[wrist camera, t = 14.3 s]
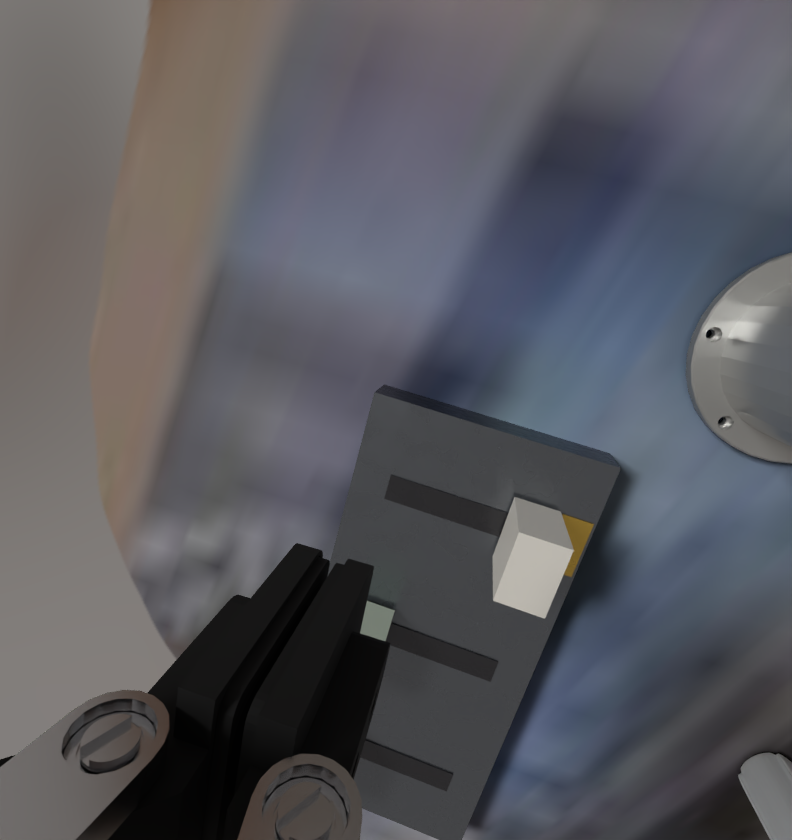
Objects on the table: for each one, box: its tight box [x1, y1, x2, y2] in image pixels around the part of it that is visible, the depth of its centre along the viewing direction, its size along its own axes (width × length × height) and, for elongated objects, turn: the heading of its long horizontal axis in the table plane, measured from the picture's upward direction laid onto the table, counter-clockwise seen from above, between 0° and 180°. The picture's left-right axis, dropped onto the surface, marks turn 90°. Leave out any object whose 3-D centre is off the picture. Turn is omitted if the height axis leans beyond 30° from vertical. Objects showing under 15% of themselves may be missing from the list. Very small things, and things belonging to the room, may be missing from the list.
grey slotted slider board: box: [327, 385, 621, 840], centre depth 37 cm, size 16×34×3 cm, turn 165°
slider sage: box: [360, 601, 395, 641], centre depth 33 cm, size 3×4×5 cm, turn 165°
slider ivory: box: [493, 497, 574, 619], centre depth 29 cm, size 3×4×5 cm, turn 165°
